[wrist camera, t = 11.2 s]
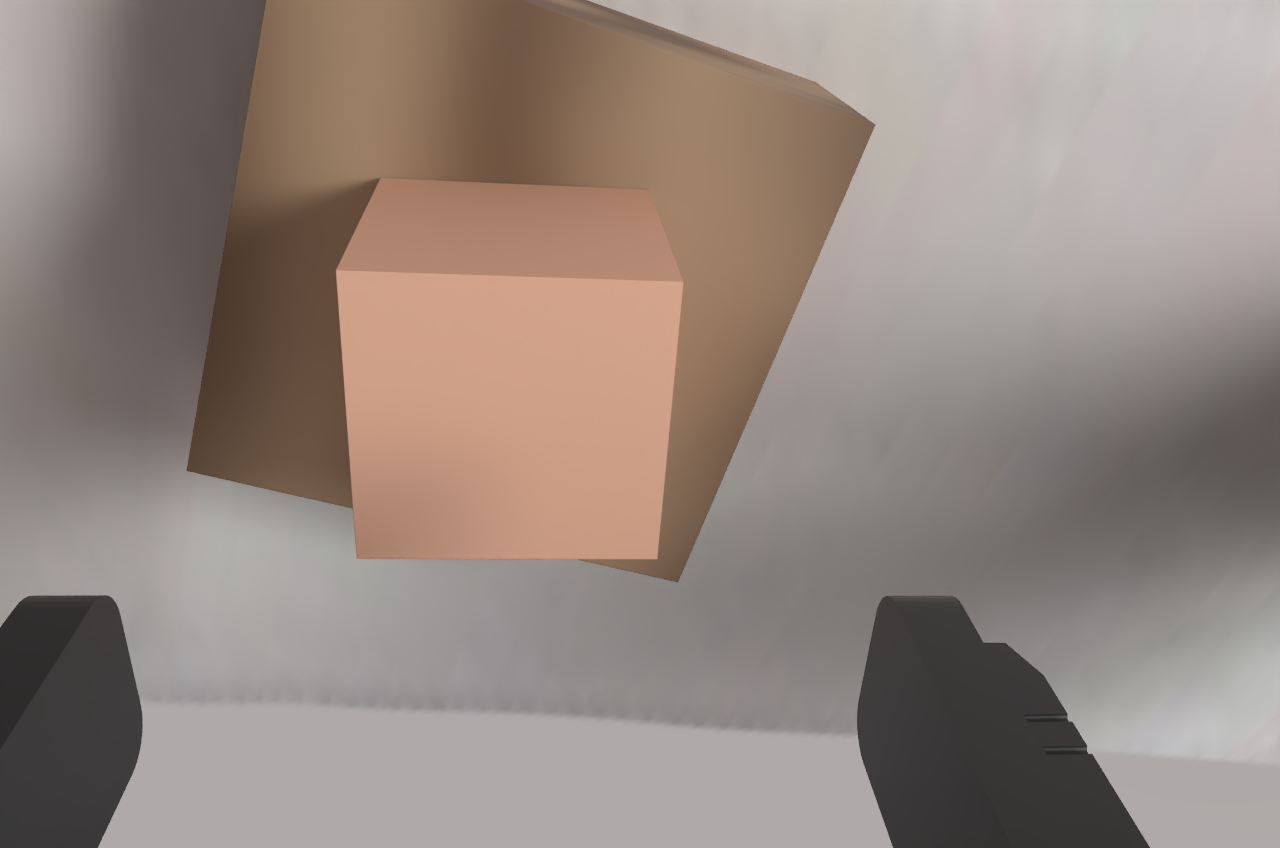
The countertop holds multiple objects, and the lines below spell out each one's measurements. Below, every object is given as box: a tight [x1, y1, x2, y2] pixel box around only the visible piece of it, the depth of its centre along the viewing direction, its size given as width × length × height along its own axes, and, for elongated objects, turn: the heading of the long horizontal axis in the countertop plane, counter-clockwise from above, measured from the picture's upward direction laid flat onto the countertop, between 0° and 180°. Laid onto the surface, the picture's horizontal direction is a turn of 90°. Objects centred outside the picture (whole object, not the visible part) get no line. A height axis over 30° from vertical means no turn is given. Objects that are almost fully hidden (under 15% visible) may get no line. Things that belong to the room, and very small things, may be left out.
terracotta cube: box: [336, 178, 683, 559], centre depth 18 cm, size 5×5×5 cm
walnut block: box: [187, 0, 875, 582], centre depth 23 cm, size 11×11×5 cm
